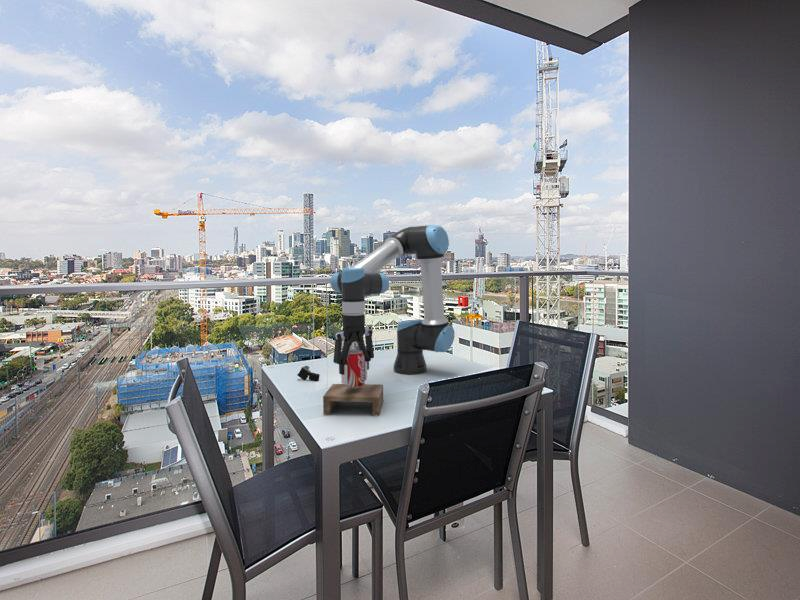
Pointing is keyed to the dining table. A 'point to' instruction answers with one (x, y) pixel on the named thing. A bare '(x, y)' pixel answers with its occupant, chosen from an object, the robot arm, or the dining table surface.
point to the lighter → (308, 374)
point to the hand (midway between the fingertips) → (354, 381)
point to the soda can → (355, 368)
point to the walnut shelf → (353, 396)
